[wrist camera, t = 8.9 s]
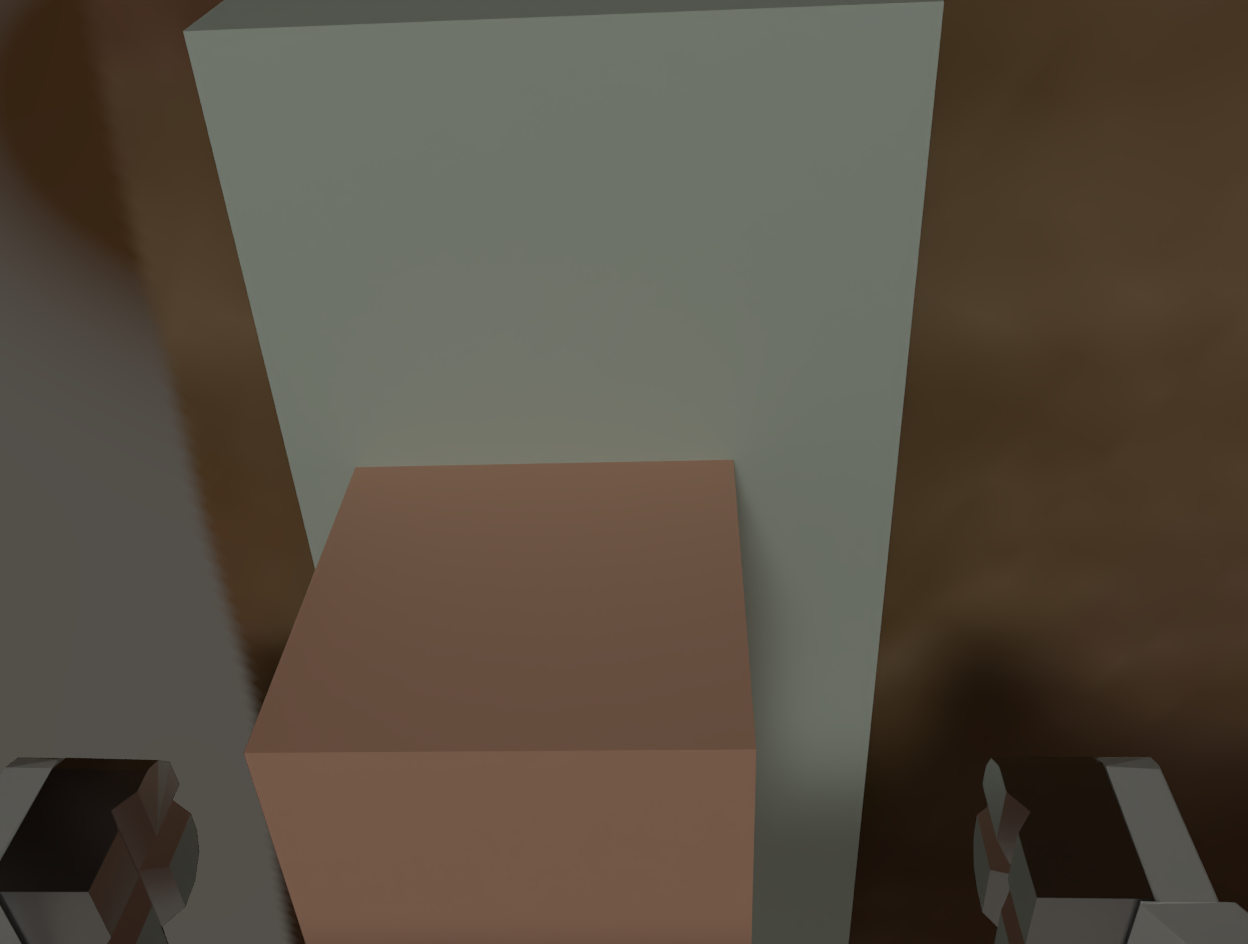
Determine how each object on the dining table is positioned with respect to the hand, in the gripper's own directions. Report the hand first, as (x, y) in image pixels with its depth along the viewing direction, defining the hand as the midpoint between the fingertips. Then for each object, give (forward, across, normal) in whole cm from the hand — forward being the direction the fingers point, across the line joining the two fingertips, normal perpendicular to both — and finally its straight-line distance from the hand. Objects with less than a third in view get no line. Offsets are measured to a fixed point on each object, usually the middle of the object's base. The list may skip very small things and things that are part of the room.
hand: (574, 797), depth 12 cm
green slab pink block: (+4, 0, 0) cm, 4 cm away
